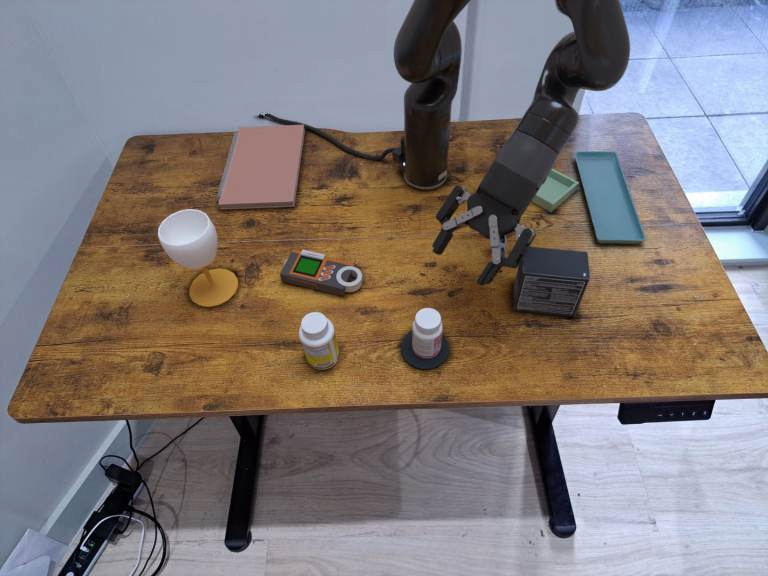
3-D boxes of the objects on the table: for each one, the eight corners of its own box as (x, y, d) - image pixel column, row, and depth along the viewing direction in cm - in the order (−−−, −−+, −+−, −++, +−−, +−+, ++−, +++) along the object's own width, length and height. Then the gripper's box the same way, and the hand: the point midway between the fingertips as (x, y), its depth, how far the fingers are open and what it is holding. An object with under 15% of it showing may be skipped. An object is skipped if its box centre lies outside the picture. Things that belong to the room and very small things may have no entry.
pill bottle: (438, 361, 83) (441, 333, 76) (410, 357, 84) (410, 328, 77) (442, 337, 86) (445, 307, 79) (414, 332, 86) (415, 303, 80)
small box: (573, 289, 91) (589, 249, 83) (575, 318, 87) (592, 280, 79) (513, 282, 93) (523, 243, 85) (512, 311, 89) (523, 273, 81)
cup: (185, 278, 97) (151, 217, 84) (232, 263, 99) (206, 201, 86) (194, 314, 91) (159, 254, 79) (243, 296, 93) (217, 236, 81)
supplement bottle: (323, 336, 87) (314, 301, 79) (346, 354, 85) (340, 319, 77) (299, 358, 85) (288, 324, 77) (323, 377, 82) (314, 344, 74)
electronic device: (355, 291, 90) (277, 272, 92) (356, 300, 92) (280, 282, 95) (367, 263, 94) (291, 245, 96) (367, 273, 96) (293, 255, 99)
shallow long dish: (643, 247, 97) (648, 238, 95) (594, 247, 97) (598, 238, 95) (613, 160, 113) (616, 150, 111) (571, 160, 113) (573, 150, 111)
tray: (506, 187, 109) (508, 179, 107) (532, 167, 112) (534, 159, 111) (550, 212, 104) (553, 204, 102) (576, 190, 107) (579, 182, 106)
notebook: (236, 133, 125) (234, 126, 123) (305, 130, 124) (303, 123, 123) (215, 210, 108) (212, 203, 106) (294, 207, 108) (292, 200, 106)
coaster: (391, 349, 85) (391, 347, 85) (423, 320, 89) (424, 319, 88) (426, 379, 82) (426, 377, 81) (458, 348, 85) (459, 347, 84)
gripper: (468, 142, 72) (411, 241, 76) (554, 190, 65) (486, 295, 70) (487, 156, 78) (433, 246, 82) (567, 200, 71) (504, 296, 76)
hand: (457, 268), depth 76 cm, fingers open, 8 cm apart
